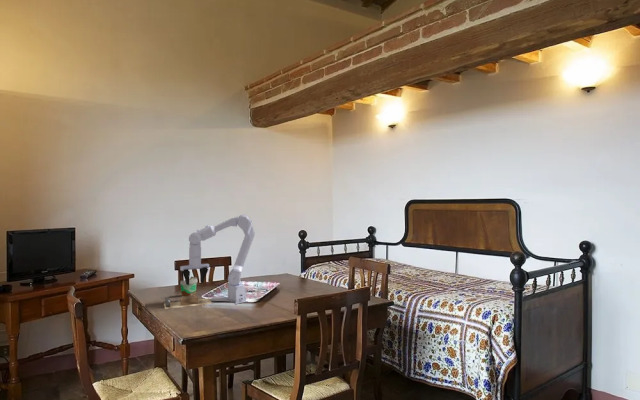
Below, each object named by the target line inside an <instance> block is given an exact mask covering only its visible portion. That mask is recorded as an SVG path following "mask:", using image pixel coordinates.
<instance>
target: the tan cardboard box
mask: <svg viewBox="0 0 640 400" xmlns="http://www.w3.org/2000/svg"><path fill="white" fill-rule="evenodd" d="M198 299H199V297H198V295H197V294H195V295H192V296H183V297H182V296H179V302H180V304H181V306H182V305H191V304H198Z"/></svg>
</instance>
